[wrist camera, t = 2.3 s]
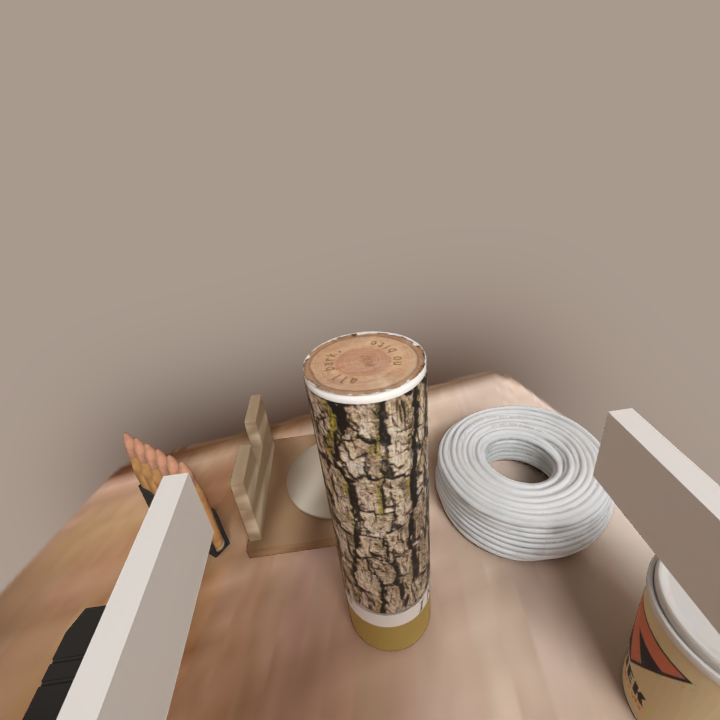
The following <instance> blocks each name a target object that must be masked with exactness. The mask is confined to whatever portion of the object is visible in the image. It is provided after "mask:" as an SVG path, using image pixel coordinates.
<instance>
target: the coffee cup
mask: <svg viewBox="0 0 720 720" xmlns="http://www.w3.org/2000/svg"><path fill="white" fill-rule="evenodd" d="M622 678H623V686H624V691H625V695H626V698H627V701H628V703H629V706H630V708H631V710H632V712H633V714H634V716H635V717H636V719H637V720H720V635H719V633H718V632H717V631H716V630H715V628H714V627H713V626H712V625H711V623H710V622H709V621H708V620H707V618H706V617H705V616H704V614H703V613H702V612H701V611H700V609H699V608H698V607H697V606H696V604H695V603H694V602H693V601H692V599H691V598H690V597H689V596H688V594H687V593H686V592H685V591H684V589H683V588H682V587H681V586H680V584H679V583H678V582H677V581H676V579H675V578H674V577H673V576H672V574H671V573H670V572H669V570H668V569H667V568H666V567H665V565H664V564H663V563H662V562H661V560H660V559H659V558H658V557H657V555H656V554H655V556H654V557H653V558H652V560H651V562H650V564H649V567H648V571H647V578H646V586H645V589H644V592H643V596H642V599H641V602H640V605H639V609H638V612H637V616H636V619H635V623H634V626H633V630H632V634H631V637H630V641H629V644H628V648H627V651H626V655H625V660H624V664H623V673H622Z"/></svg>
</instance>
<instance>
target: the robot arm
mask: <svg viewBox="0 0 720 720" xmlns="http://www.w3.org/2000/svg"><path fill="white" fill-rule="evenodd" d="M593 476H594V477H595V479H596V480H597V481H598V482H599V484H600V485H601V486H602V487H603V489H604V490H605V491H606V492H607V494H608V495H609V496H610V498H611V499H612V500H613V501H614V503H615V504H616V505H617V506H618V508H619V509H620V510H621V511H622V513H623V514H624V515H625V516H626V518H627V519H628V520H629V521H630V523H631V524H632V525H633V526H634V528H635V529H636V530H637V531H638V533H639V534H640V535H641V537H642V538H643V539H644V540H645V542H646V543H647V544H648V545H649V547H650V548H651V549H652V550H653V552H654V553H655V554H656V555H657V557H658V558H659V559H660V560H661V562H662V563H663V564H664V565H665V567H666V568H667V569H668V570H669V572H670V573H671V574H672V576H673V577H674V578H675V579H676V581H677V582H678V583H679V584H680V586H681V587H682V588H683V589H684V591H685V592H686V593H687V594H688V596H689V597H690V598H691V599H692V601H693V602H694V603H695V604H696V606H697V607H698V608H699V609H700V611H701V612H702V613H703V614H704V616H705V617H706V618H707V620H708V621H709V622H710V623H711V625H712V626H713V627H714V628H715V630H716V631H717V632H718V633H719V635H720V486H719V485H718V484H717V483H715V482H714V481H713V480H712V479H711V478H710V477H709V476H707V475H706V474H705V473H704V472H703V471H702V470H701V469H700V468H698V467H697V466H696V465H695V464H694V463H693V462H692V461H691V460H690V459H688V458H687V457H686V456H685V455H684V454H683V453H682V452H681V451H679V450H678V449H677V448H676V447H675V446H674V445H673V444H672V443H670V442H669V441H668V440H667V439H666V438H665V437H664V436H663V435H661V434H660V433H659V432H658V431H657V430H656V429H655V428H653V427H652V426H651V425H650V424H649V423H648V422H647V421H646V420H645V419H643V418H642V417H641V416H640V415H639V414H638V413H637V412H636V411H634V410H633V409H632V408H630V409H624V410H617V411H610V412H608V415H607V419H606V423H605V427H604V431H603V435H602V439H601V443H600V448H599V452H598V456H597V460H596V464H595V468H594V472H593ZM213 534H214V530H213V528H212V526H211V523H210V521H209V519H208V516H207V514H206V512H205V510H204V507H203V505H202V503H201V500H200V498H199V496H198V493H197V491H196V489H195V486H194V484H193V482H192V479H191V477H190V475H189V473H182V474H175V475H168V476H163V478H162V480H161V483H160V485H159V487H158V489H157V492H156V494H155V496H154V498H153V501H152V503H151V505H150V508H149V510H148V512H147V514H146V517H145V519H144V521H143V523H142V526H141V528H140V530H139V533H138V535H137V537H136V539H135V542H134V544H133V546H132V549H131V551H130V553H129V555H128V558H127V560H126V562H125V564H124V567H123V569H122V571H121V574H120V576H119V578H118V580H117V583H116V585H115V587H114V589H113V592H112V594H111V596H110V599H109V601H108V603H107V605H105V606H99V607H92V608H86V609H85V610H84V611H83V612H82V614H81V615H80V616H79V617H78V618H77V620H76V621H75V622H74V623H73V624H72V626H71V627H70V628H69V629H68V630H67V632H66V633H65V635H64V637H63V639H62V641H61V643H60V645H59V647H58V649H57V651H56V653H55V655H54V657H53V663H52V664H50V665H49V667H48V669H47V671H46V673H45V675H44V677H43V679H42V681H41V682H42V685H41V687H38V689H37V691H36V693H35V695H34V697H33V699H32V701H31V704H30V706H29V708H28V710H27V712H26V714H25V716H24V718H23V720H166V719H167V715H168V712H169V708H170V704H171V700H172V696H173V692H174V688H175V684H176V680H177V676H178V672H179V668H180V664H181V660H182V656H183V652H184V648H185V644H186V641H187V637H188V633H189V629H190V625H191V621H192V617H193V613H194V609H195V605H196V601H197V597H198V593H199V589H200V585H201V581H202V577H203V573H204V570H205V566H206V562H207V558H208V554H209V550H210V546H211V542H212V538H213Z"/></svg>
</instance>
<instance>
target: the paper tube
mask: <svg viewBox="0 0 720 720" xmlns="http://www.w3.org/2000/svg"><path fill="white" fill-rule="evenodd" d="M303 373H304V382H305V387H306V392H307V396H308V402H309V407H310V412H311V417H312V423H313V428H314V433H315V438H316V443H317V448H318V453H319V458H320V463H321V468H322V474H323V479H324V484H325V489H326V494H327V499H328V504H329V509H330V514H331V519H332V525H333V530H334V535H335V540H336V545H337V550H338V555H339V560H340V565H341V571H342V576H343V581H344V586H345V591H346V595H347V599H348V605H349V610H350V615H351V619H352V622H353V625H354V627H355V629H356V631H357V633H358V634H359V635H360V637H361V638H362V639H363V640H364V641H365V642H366V643H368V644H369V645H371V646H373V647H375V648H377V649H380V650H384V651H398V650H402V649H405V648H407V647H409V646H411V645H412V644H414V643H415V642H416V641H417V640H418V639H419V638H420V637H421V636H422V635H423V633H424V631H425V630H426V627H427V625H428V622H429V618H430V535H429V470H428V405H427V363H426V354H425V352H424V350H423V348H422V347H421V346H420V345H419V344H418V343H416V342H415V341H413V340H411V339H409V338H407V337H405V336H402V335H398V334H393V333H388V332H360V333H352V334H348V335H344V336H340V337H337V338H334V339H331V340H329V341H327V342H325V343H323V344H321V345H319V346H318V347H316V348H315V349H314V350H313V351H312V352H310V354H309V355H308V356H307V357H306V359H305V361H304V364H303Z"/></svg>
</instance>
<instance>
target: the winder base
mask: <svg viewBox="0 0 720 720" xmlns="http://www.w3.org/2000/svg"><path fill="white" fill-rule="evenodd" d="M245 426H246V430H247V433H248V436H249V440H250V443H251V444H246V445H239V448H238V452H237V456H236V461H235V465H234V469H233V473H232V477H231V482H230V487H231V489H232V492H233V495H234V498H235V500H236V503H237V506H238V509H239V511H240V514H241V517H242V520H243V523H244V525H245V528H246V531H247V534H248V536H249V540H248V546H247V552H248V555H249V558H253V557H260V556H267V555H274V554H281V553H288V552H295V551H302V550H309V549H316V548H323V547H330V546H337V545H336V540H335V535H334V530H333V525H332V519H331V514H330V509H329V504H328V499H327V494H326V489H325V484H324V479H323V474H322V468H321V463H320V458H319V453H318V448H317V443H316V438H315V434H314V435H306V436H299V437H291V438H284V439H277V440H273V438H272V434H271V430H270V426H269V422H268V419H267V415H266V411H265V408H264V404H263V400H262V396H261V394H260V395H252V396H251V398H250V402H249V406H248V411H247V414H246V419H245Z"/></svg>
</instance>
